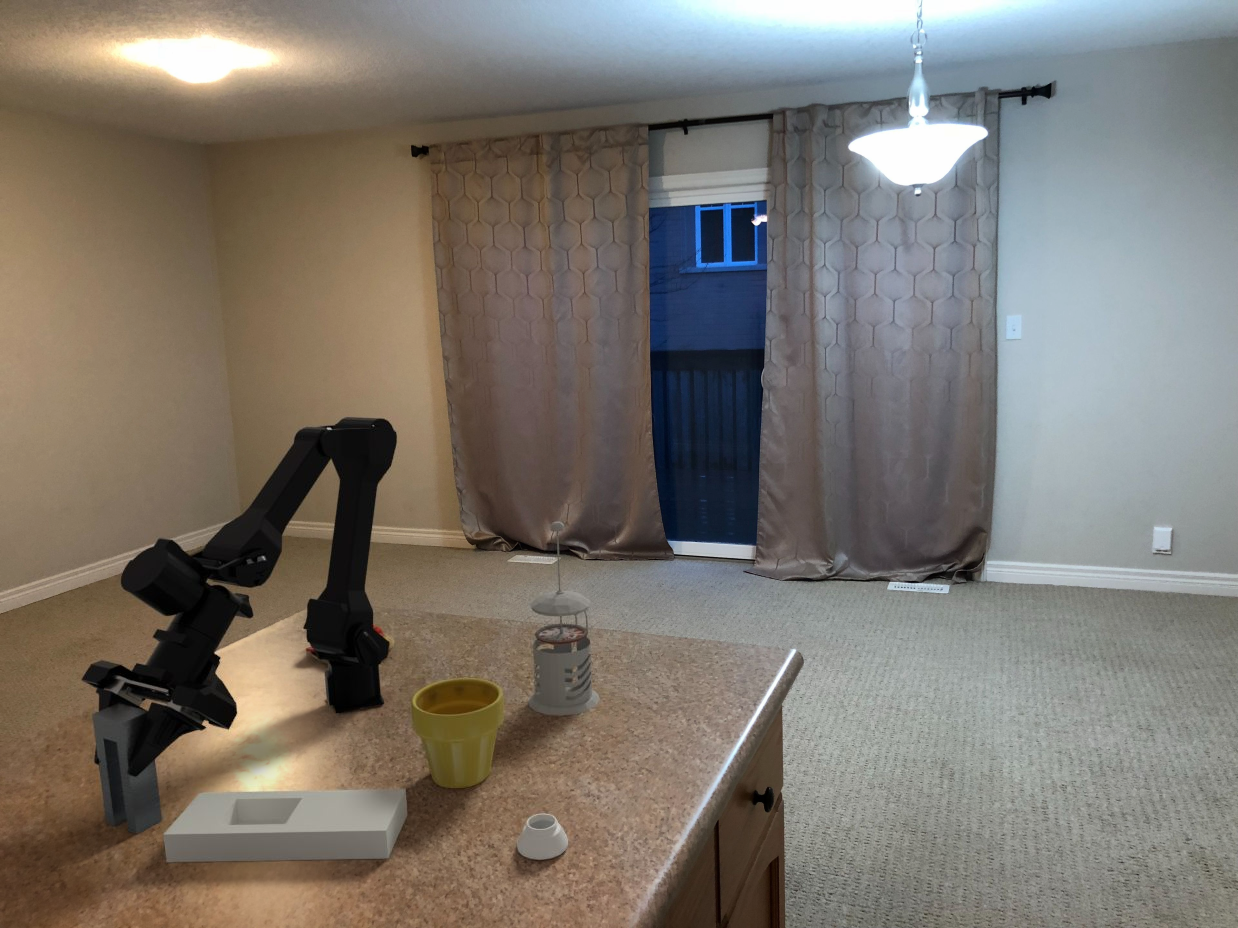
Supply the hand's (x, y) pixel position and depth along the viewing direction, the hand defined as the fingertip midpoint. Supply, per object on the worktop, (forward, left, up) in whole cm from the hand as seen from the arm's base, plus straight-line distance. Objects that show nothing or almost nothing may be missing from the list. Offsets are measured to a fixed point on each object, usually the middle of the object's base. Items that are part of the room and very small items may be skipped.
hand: (114, 770), depth 98 cm
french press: (-54, -8, -7) cm, 55 cm away
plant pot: (-35, +6, -7) cm, 36 cm away
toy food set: (-31, -41, -7) cm, 52 cm away
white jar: (-38, +24, -7) cm, 46 cm away
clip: (-1, -1, -7) cm, 7 cm away
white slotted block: (-16, +10, -7) cm, 20 cm away
